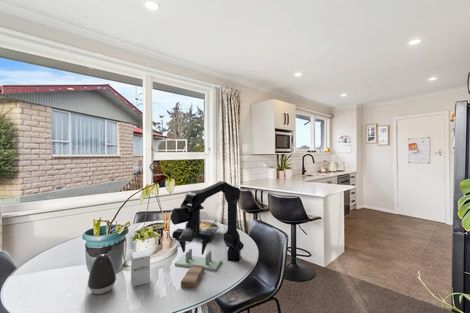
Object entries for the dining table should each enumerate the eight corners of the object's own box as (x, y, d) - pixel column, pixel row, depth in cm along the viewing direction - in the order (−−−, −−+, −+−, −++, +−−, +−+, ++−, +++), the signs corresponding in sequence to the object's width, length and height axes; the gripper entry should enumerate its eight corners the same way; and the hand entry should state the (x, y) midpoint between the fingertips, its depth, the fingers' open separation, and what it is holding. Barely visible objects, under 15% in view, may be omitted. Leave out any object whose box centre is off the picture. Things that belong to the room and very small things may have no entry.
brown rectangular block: (192, 270, 116) (192, 264, 116) (203, 271, 115) (204, 265, 115) (180, 288, 101) (180, 281, 101) (194, 289, 100) (194, 282, 100)
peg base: (221, 261, 124) (221, 250, 124) (215, 270, 115) (215, 258, 115) (183, 256, 129) (183, 246, 129) (174, 265, 120) (174, 253, 120)
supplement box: (132, 287, 100) (132, 258, 100) (130, 279, 107) (130, 251, 106) (150, 283, 103) (150, 255, 103) (148, 275, 110) (148, 248, 110)
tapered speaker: (85, 301, 91) (85, 262, 91) (90, 286, 100) (90, 251, 100) (115, 294, 95) (115, 257, 95) (116, 281, 105) (116, 248, 104)
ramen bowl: (193, 228, 177) (193, 217, 177) (223, 230, 174) (223, 219, 173) (181, 241, 152) (181, 228, 152) (215, 243, 149) (215, 230, 149)
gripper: (166, 223, 102) (165, 258, 102) (206, 227, 97) (206, 264, 98) (178, 216, 112) (177, 248, 113) (215, 219, 108) (214, 252, 108)
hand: (193, 253), depth 108 cm, fingers open, 9 cm apart
